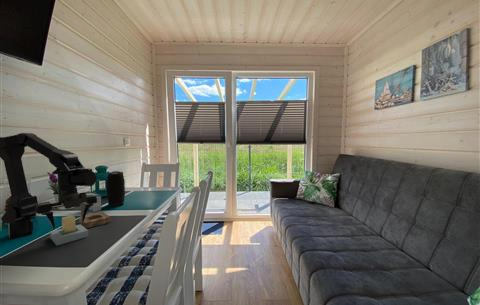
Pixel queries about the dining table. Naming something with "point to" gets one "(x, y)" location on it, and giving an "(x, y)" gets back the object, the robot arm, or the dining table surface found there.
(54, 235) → the socket block
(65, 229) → the brass pin
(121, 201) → the portable speaker
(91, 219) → the walnut mount
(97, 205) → the medicine box
